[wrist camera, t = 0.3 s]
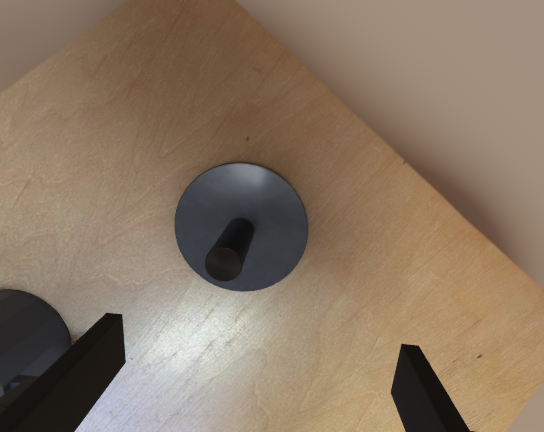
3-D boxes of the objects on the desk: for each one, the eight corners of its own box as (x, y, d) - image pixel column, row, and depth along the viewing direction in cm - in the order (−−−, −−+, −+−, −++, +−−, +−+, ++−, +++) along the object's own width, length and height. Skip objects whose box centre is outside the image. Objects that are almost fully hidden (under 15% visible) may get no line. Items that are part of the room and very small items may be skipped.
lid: (175, 159, 30) (123, 168, 20) (311, 164, 29) (323, 175, 20) (181, 283, 33) (139, 339, 23) (303, 289, 32) (310, 349, 23)
